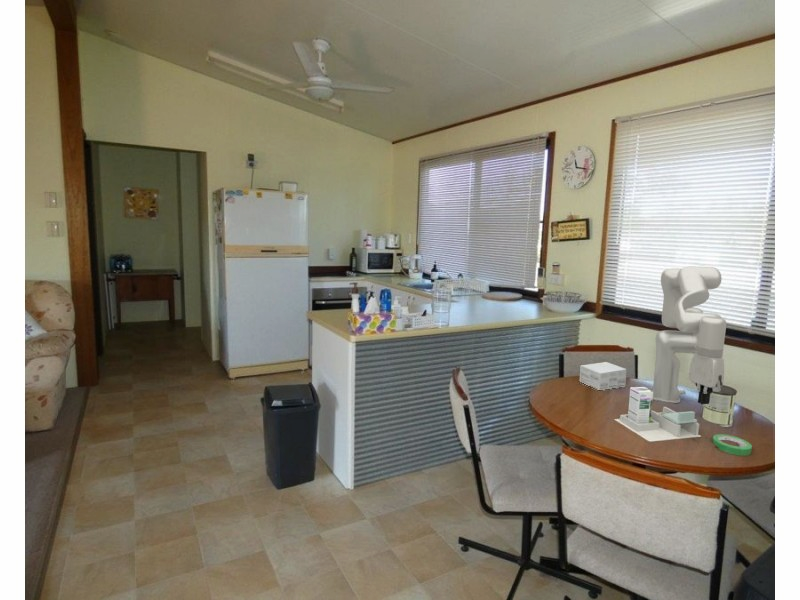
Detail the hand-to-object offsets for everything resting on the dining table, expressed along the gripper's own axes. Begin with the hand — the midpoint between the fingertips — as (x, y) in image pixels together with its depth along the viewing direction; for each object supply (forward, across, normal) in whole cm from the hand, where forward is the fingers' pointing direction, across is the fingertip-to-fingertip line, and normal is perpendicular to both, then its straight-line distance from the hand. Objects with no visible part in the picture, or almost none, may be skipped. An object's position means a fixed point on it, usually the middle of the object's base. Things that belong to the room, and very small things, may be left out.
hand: (703, 403), depth 156 cm
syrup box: (+15, -17, -10) cm, 25 cm away
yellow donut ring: (+14, -17, 0) cm, 22 cm away
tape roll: (+16, +3, +10) cm, 20 cm away
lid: (+10, -10, 0) cm, 14 cm away
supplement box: (+15, -62, +6) cm, 64 cm away
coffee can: (+15, -16, +24) cm, 33 cm away
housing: (+16, -14, -6) cm, 22 cm away
